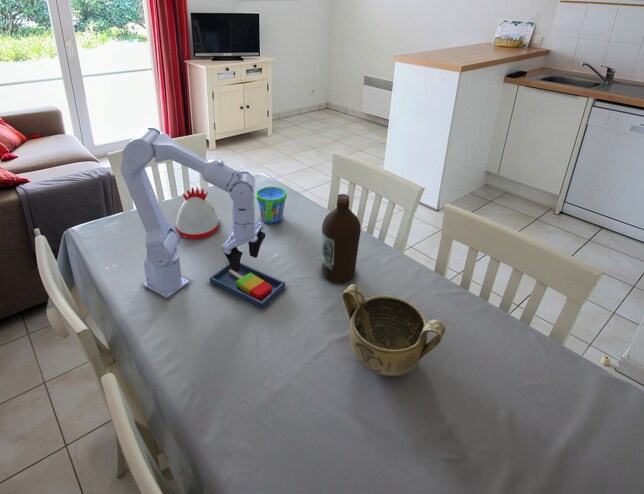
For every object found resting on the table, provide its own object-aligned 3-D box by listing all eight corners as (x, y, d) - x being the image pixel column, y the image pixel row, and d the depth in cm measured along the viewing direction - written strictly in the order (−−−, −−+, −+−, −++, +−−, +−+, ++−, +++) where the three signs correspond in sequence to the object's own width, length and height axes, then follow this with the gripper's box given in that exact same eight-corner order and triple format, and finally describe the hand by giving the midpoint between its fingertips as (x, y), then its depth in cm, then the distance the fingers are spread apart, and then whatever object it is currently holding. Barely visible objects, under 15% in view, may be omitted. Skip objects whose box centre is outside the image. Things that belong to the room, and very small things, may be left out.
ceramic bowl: (446, 358, 96) (457, 305, 90) (418, 415, 83) (429, 357, 78) (358, 315, 108) (362, 266, 102) (321, 359, 95) (324, 306, 89)
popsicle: (259, 302, 111) (258, 296, 110) (222, 277, 120) (221, 271, 120) (274, 292, 115) (274, 286, 114) (237, 268, 124) (237, 263, 123)
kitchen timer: (214, 239, 139) (211, 198, 133) (171, 238, 139) (167, 197, 133) (221, 217, 152) (219, 179, 146) (182, 216, 152) (179, 178, 146)
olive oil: (345, 259, 130) (350, 185, 120) (363, 280, 121) (371, 201, 111) (313, 267, 126) (316, 191, 116) (330, 289, 117) (334, 209, 107)
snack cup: (262, 206, 159) (262, 182, 155) (290, 209, 158) (290, 184, 154) (251, 228, 145) (250, 201, 141) (281, 231, 143) (281, 205, 140)
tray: (209, 283, 118) (209, 277, 118) (234, 265, 126) (234, 259, 126) (262, 310, 109) (262, 303, 109) (285, 288, 117) (285, 282, 116)
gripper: (237, 236, 102) (238, 283, 107) (272, 212, 113) (272, 255, 118) (215, 227, 105) (217, 273, 111) (252, 204, 117) (252, 246, 122)
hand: (244, 263), depth 115 cm, fingers open, 7 cm apart
